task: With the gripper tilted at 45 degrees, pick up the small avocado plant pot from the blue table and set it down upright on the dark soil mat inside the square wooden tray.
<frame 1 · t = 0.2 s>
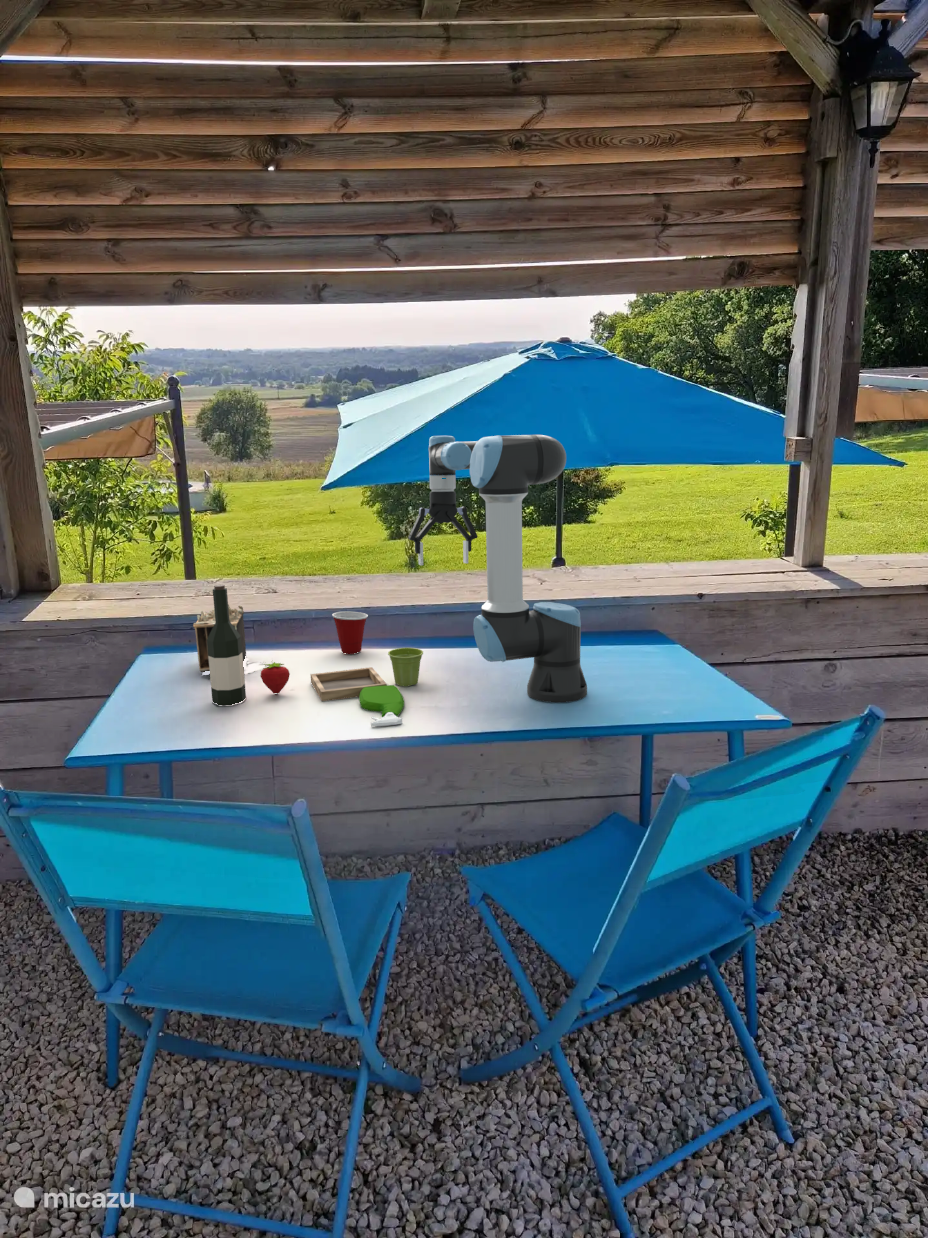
hand: (443, 564, 260), 27 cm above the table, tool pointing down, fingers open, 13 cm apart
square wooden tray: (348, 688, 235), on the table
strawberry: (276, 695, 231), on the table
plastic cup: (352, 652, 271), on the table
spray bottle: (383, 712, 217), on the table
plant pot: (406, 684, 238), on the table
wooden crate with straw: (223, 667, 258), on the table
wine bottle: (229, 702, 227), on the table
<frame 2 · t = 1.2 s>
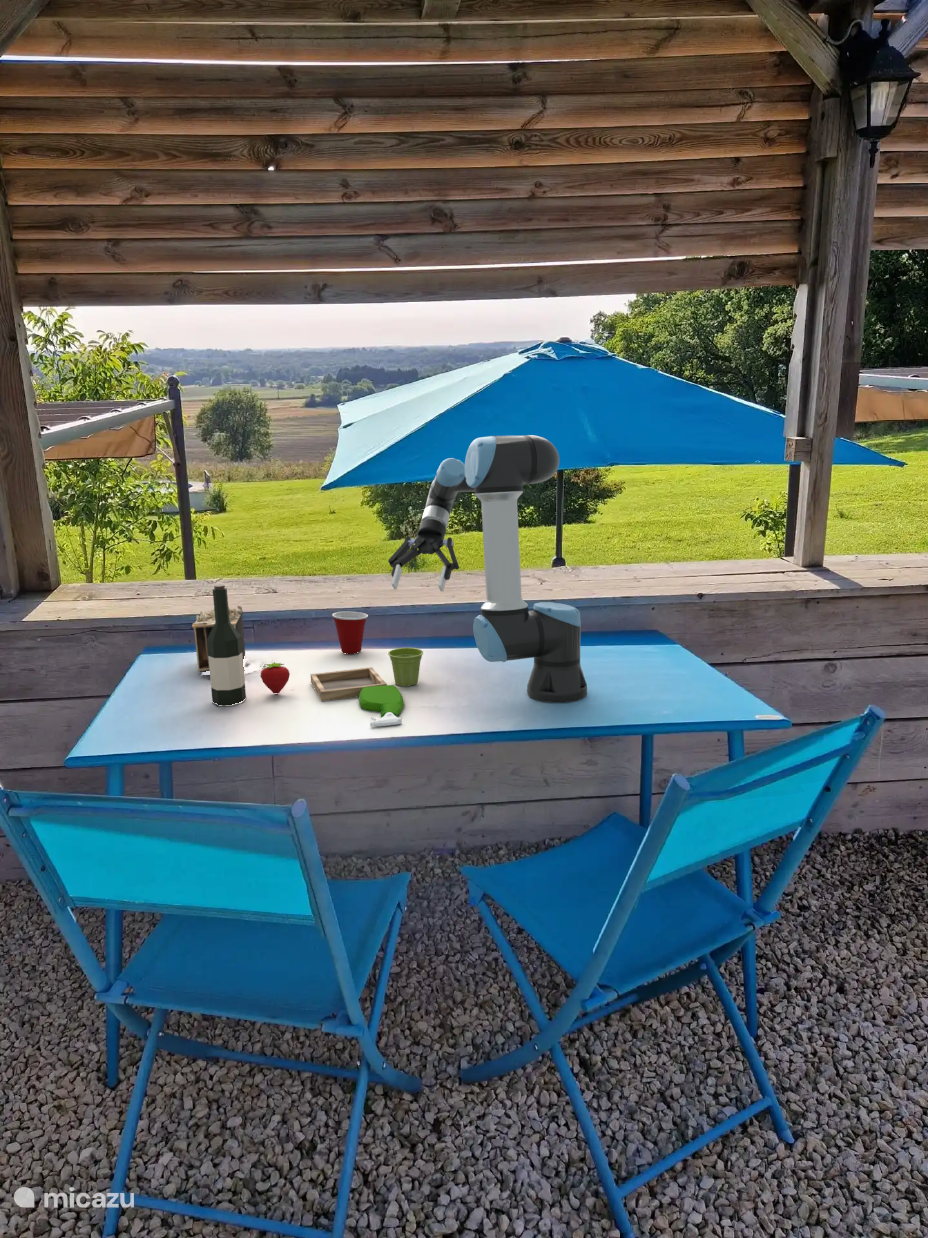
hand: (417, 587, 242), 24 cm above the table, tool tilted 45°, fingers open, 13 cm apart
nothing on the table moved.
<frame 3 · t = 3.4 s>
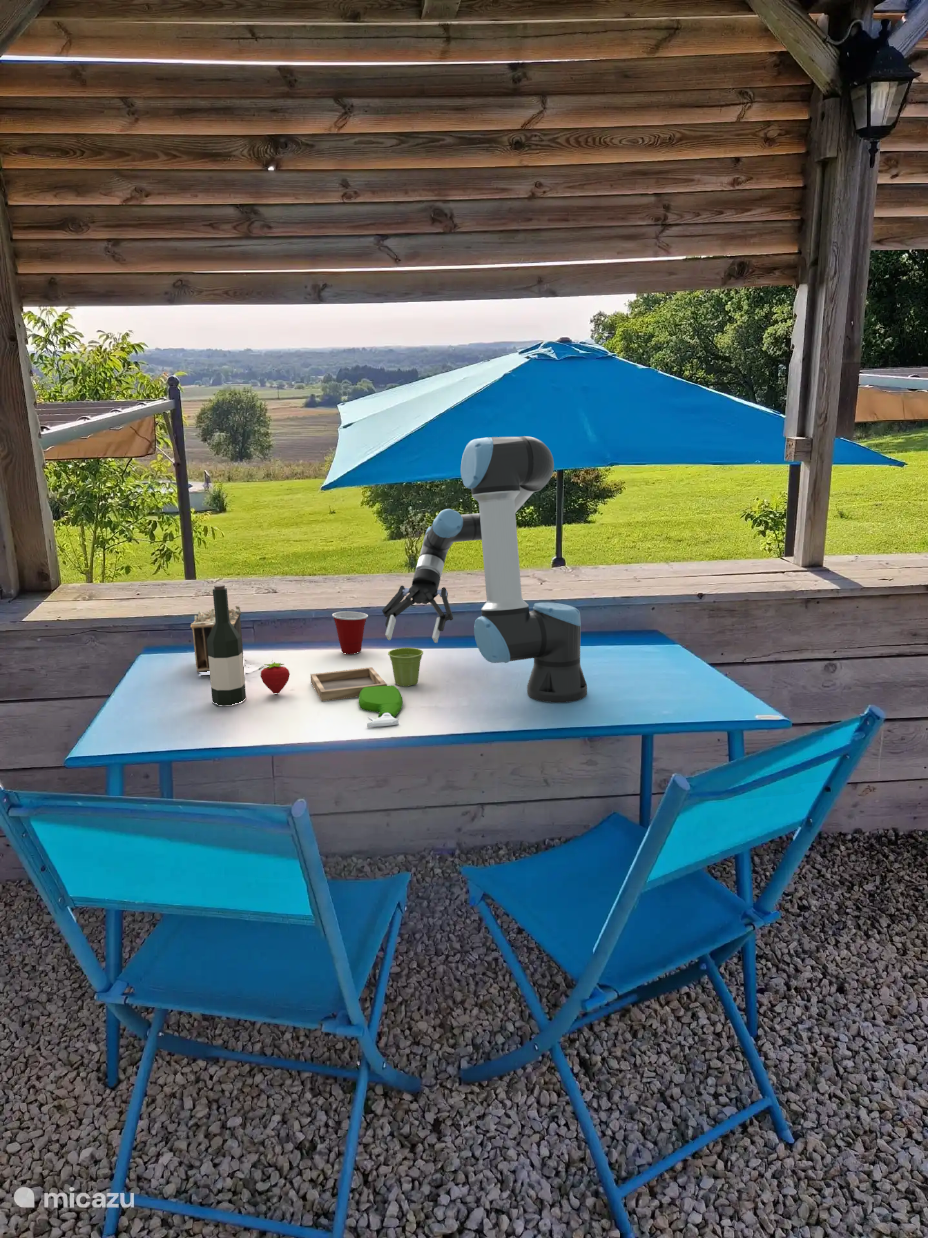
hand: (411, 639, 242), 11 cm above the table, tool tilted 45°, fingers open, 13 cm apart
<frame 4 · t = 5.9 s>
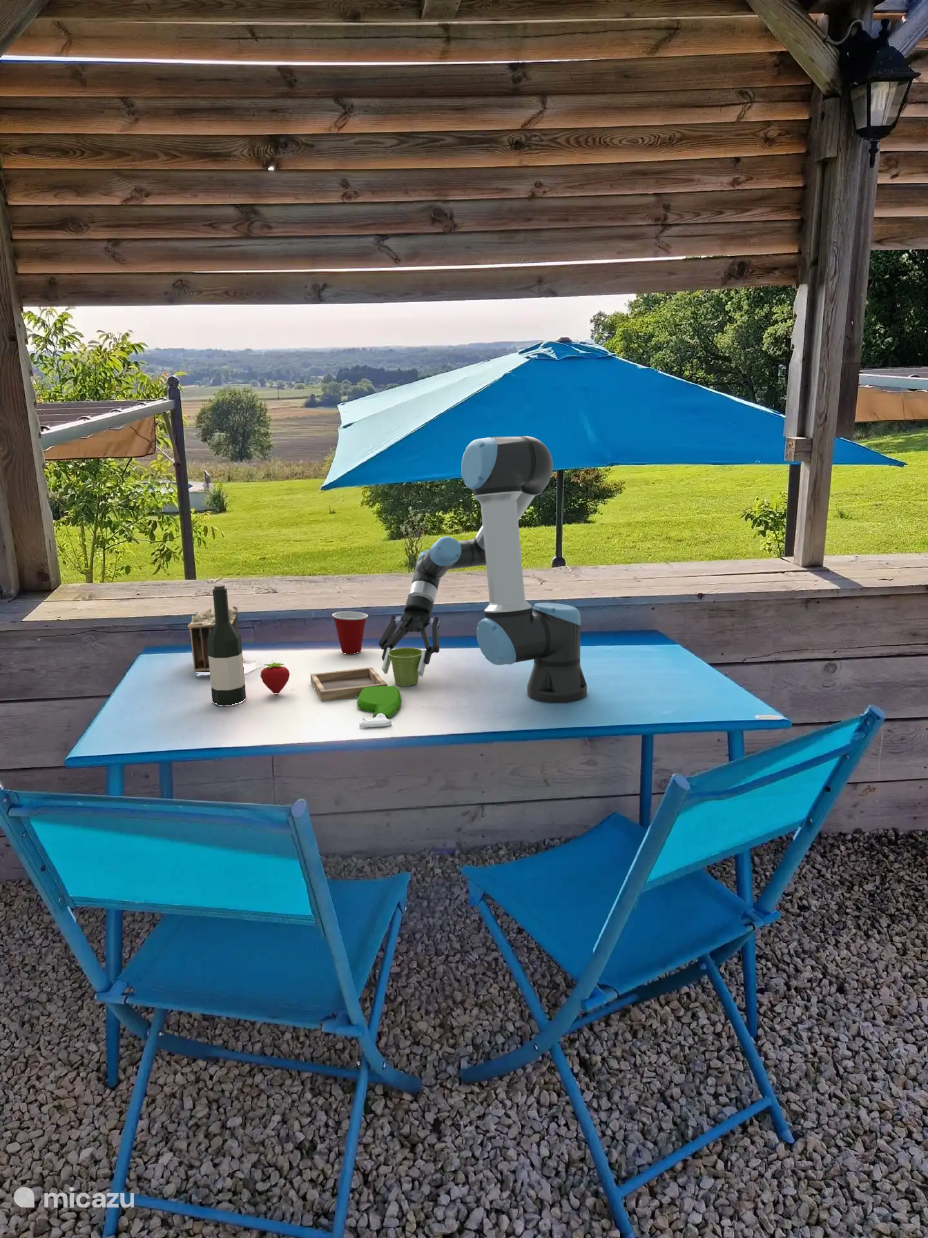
hand: (402, 672, 234), 4 cm above the table, tool tilted 45°, fingers closed on plant pot, 9 cm apart
plant pot: (406, 684, 238), on the table, touching gripper
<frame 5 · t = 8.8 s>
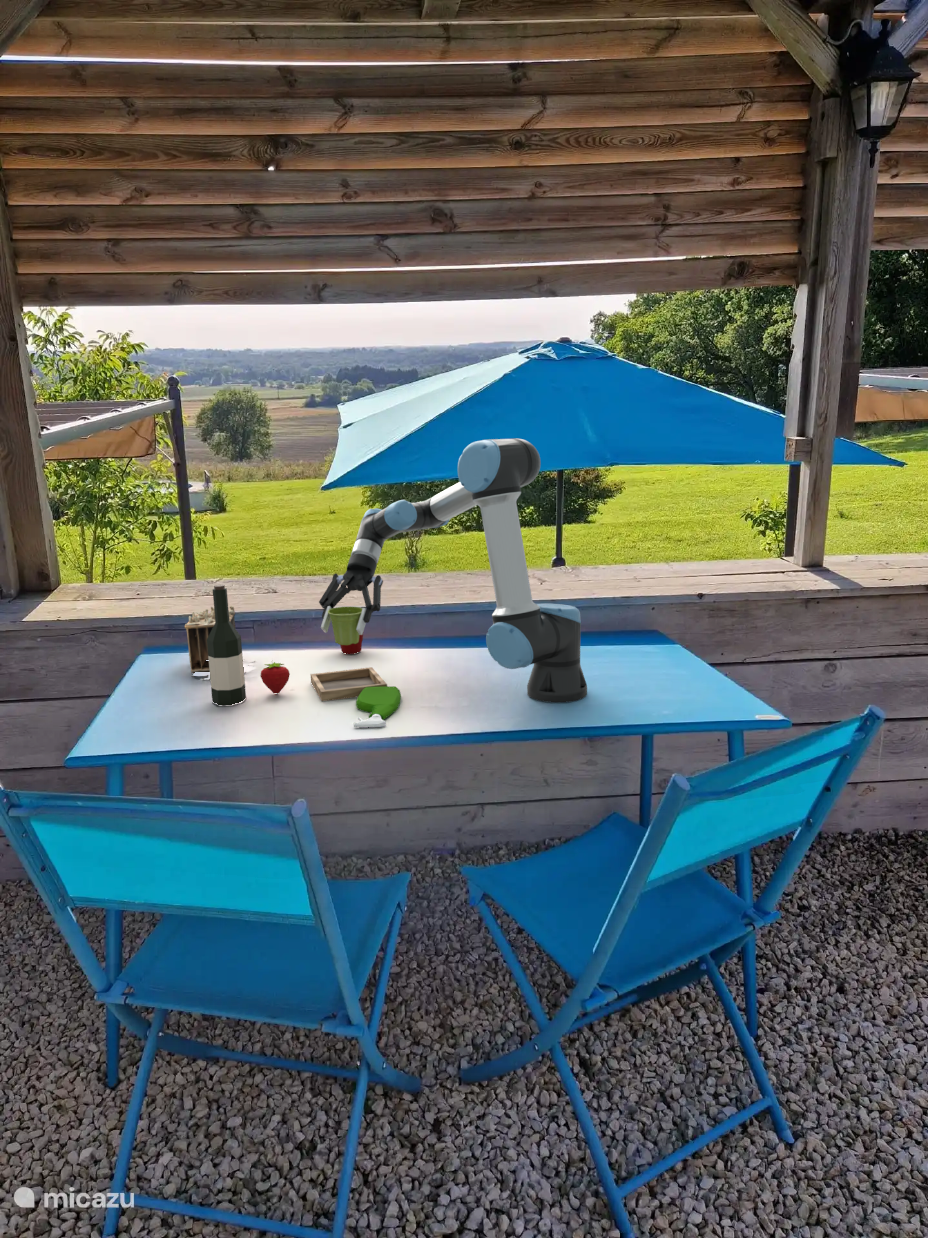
hand: (341, 631, 229), 16 cm above the table, tool tilted 45°, fingers closed on plant pot, 9 cm apart
plant pot: (347, 643, 233), point 12 cm above the table, touching gripper
when the fingers open (5 cm above the table, at t = 11.9 s): plant pot stays where it is, resting on square wooden tray.
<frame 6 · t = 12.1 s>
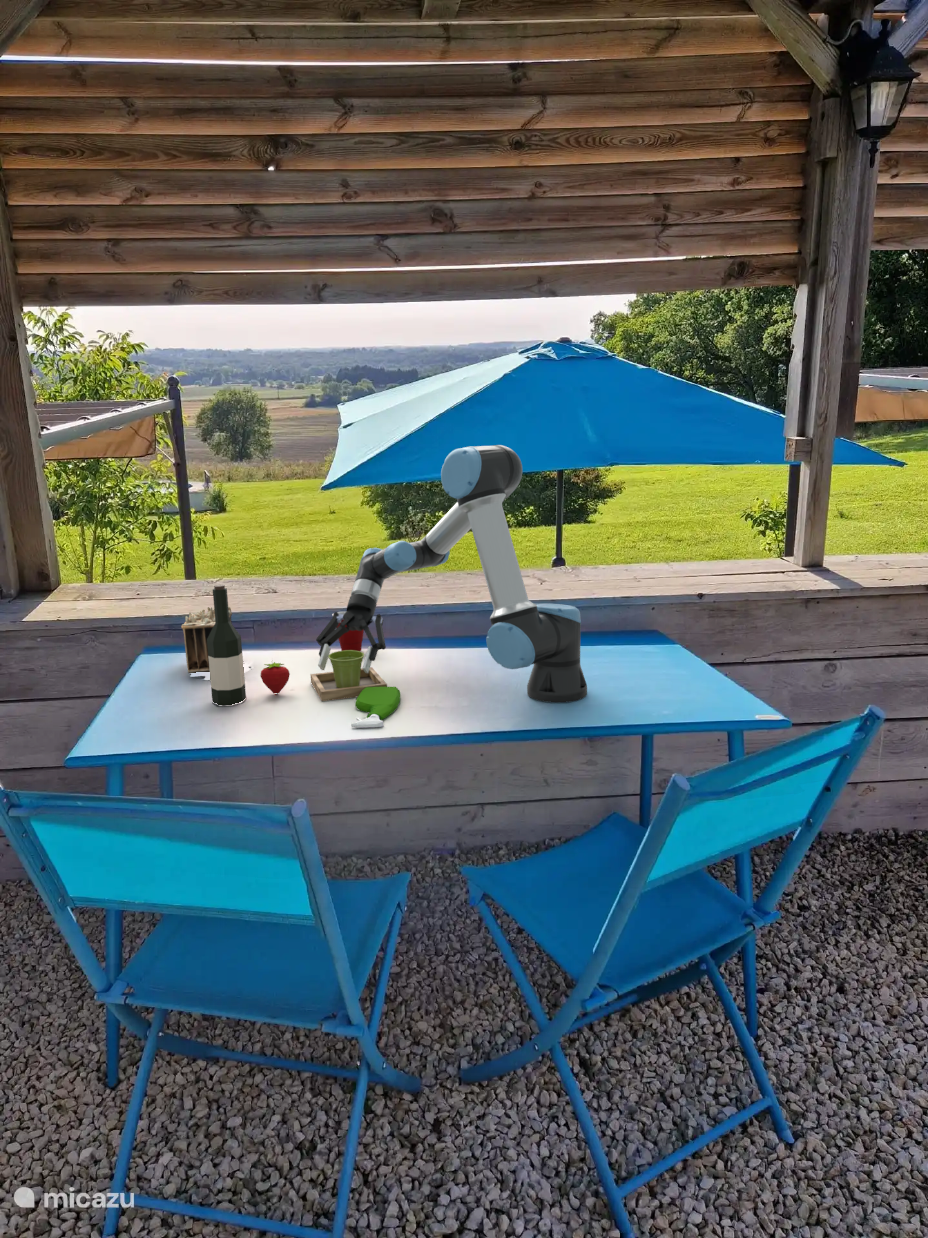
hand: (342, 669, 231), 6 cm above the table, tool tilted 45°, fingers open, 12 cm apart
plant pot: (348, 687, 235), resting on square wooden tray
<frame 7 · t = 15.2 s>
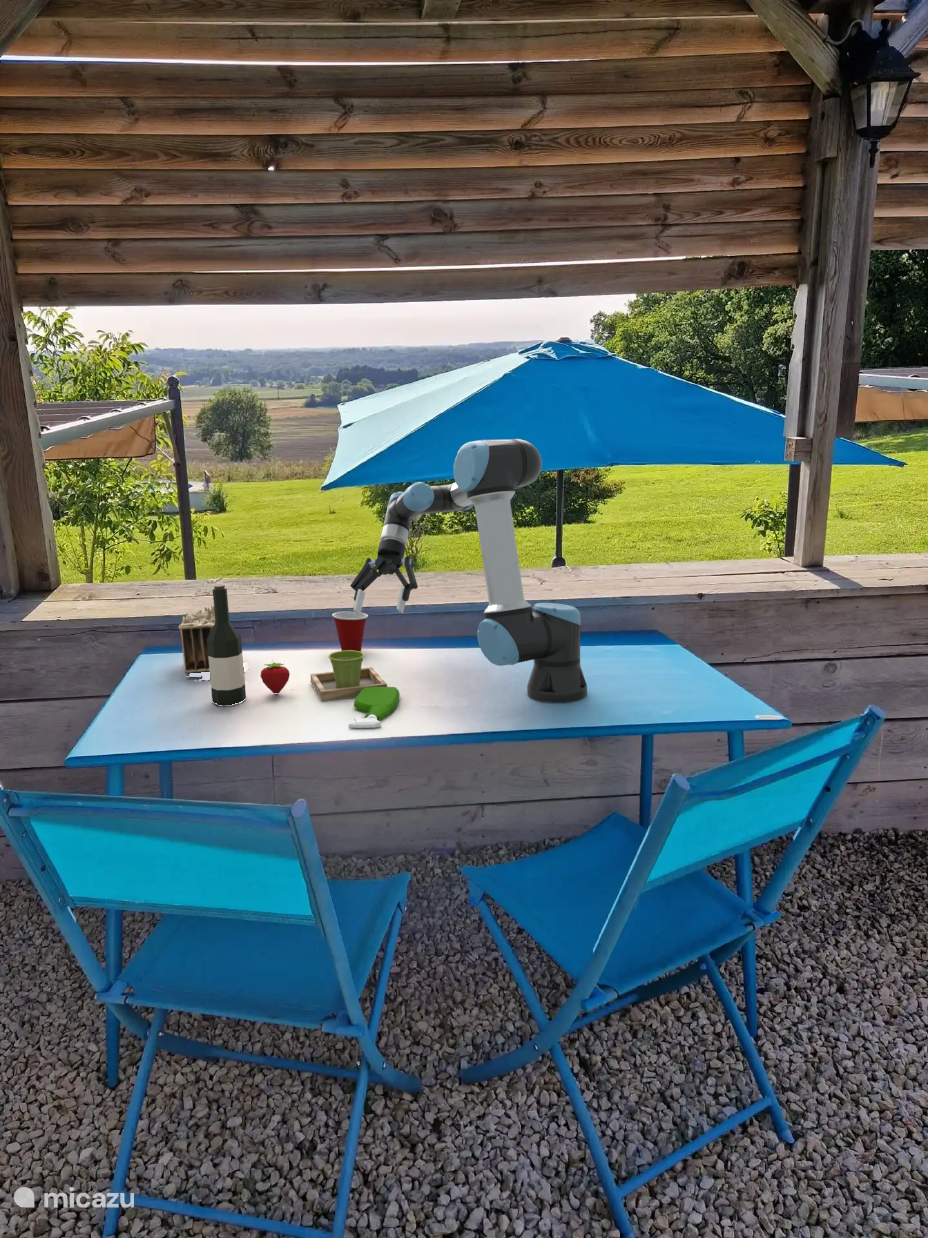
hand: (378, 611, 244), 17 cm above the table, tool tilted 35°, fingers open, 13 cm apart
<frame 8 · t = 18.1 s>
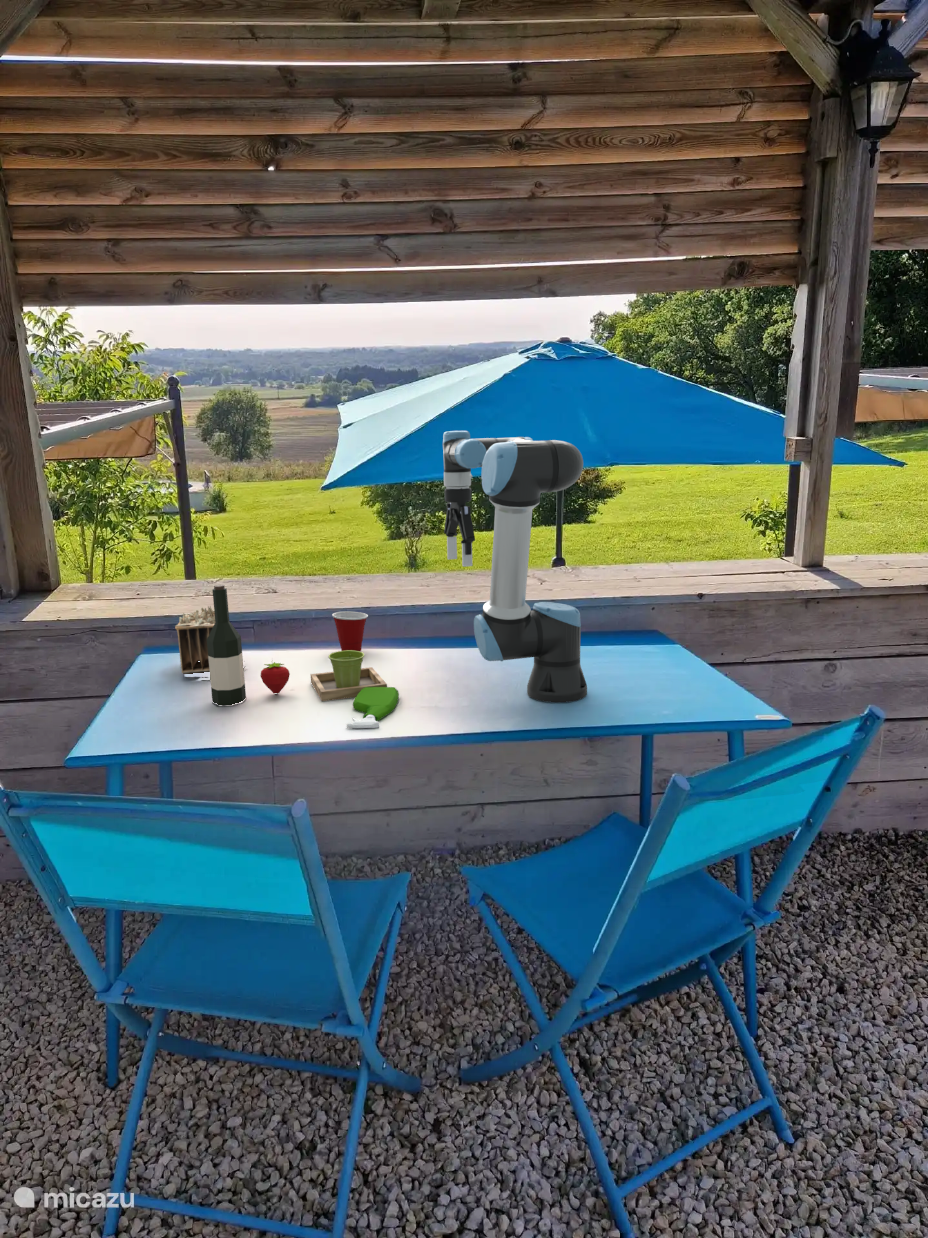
hand: (459, 562, 253), 29 cm above the table, tool pointing down, fingers open, 13 cm apart
at the end: plant pot inside the target area on the square wooden tray (0.1 cm from its centre), point 0.2 cm above the square wooden tray's base; plant pot tilted 0°; the gripper is holding nothing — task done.
